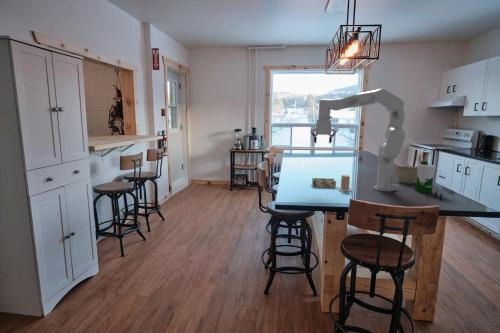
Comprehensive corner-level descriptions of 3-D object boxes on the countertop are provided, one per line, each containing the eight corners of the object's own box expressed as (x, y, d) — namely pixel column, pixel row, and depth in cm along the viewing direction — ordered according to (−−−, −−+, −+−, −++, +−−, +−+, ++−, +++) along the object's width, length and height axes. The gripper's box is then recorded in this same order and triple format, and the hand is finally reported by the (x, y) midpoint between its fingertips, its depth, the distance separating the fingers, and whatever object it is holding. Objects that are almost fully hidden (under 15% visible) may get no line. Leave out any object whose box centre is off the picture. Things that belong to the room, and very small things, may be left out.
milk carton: (423, 189, 200) (426, 160, 196) (434, 192, 192) (438, 162, 188) (412, 190, 198) (416, 161, 194) (423, 193, 189) (427, 163, 186)
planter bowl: (418, 186, 209) (419, 171, 207) (393, 182, 218) (394, 168, 216) (419, 181, 222) (421, 167, 220) (396, 179, 231) (397, 165, 229)
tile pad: (349, 188, 201) (349, 187, 200) (353, 191, 192) (353, 190, 192) (336, 187, 201) (336, 186, 201) (339, 191, 193) (339, 190, 193)
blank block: (347, 188, 198) (348, 175, 197) (348, 189, 194) (349, 176, 192) (340, 187, 199) (341, 174, 197) (341, 189, 195) (342, 176, 193)
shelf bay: (333, 184, 210) (333, 178, 209) (335, 187, 202) (336, 181, 201) (312, 183, 211) (312, 177, 211) (313, 186, 203) (313, 180, 202)
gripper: (336, 117, 200) (334, 142, 203) (310, 117, 202) (309, 142, 205) (338, 118, 193) (336, 144, 196) (311, 117, 194) (310, 143, 198)
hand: (322, 143), depth 200 cm, fingers open, 9 cm apart
